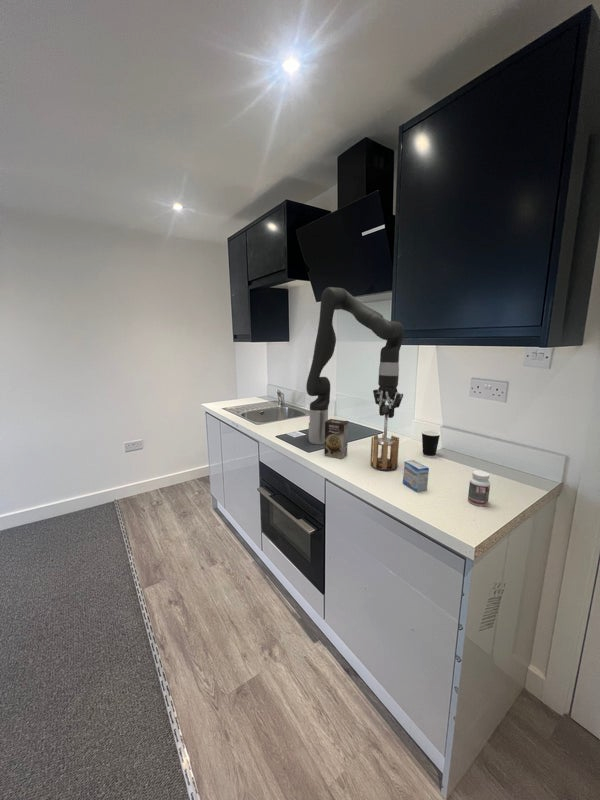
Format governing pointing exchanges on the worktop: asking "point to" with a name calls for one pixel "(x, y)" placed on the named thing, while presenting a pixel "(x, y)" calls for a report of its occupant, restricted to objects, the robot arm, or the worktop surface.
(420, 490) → the medicine box
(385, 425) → the plunger
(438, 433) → the dixie cup
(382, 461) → the press carafe
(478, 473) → the pill bottle
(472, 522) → the worktop surface
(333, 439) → the coffee box
